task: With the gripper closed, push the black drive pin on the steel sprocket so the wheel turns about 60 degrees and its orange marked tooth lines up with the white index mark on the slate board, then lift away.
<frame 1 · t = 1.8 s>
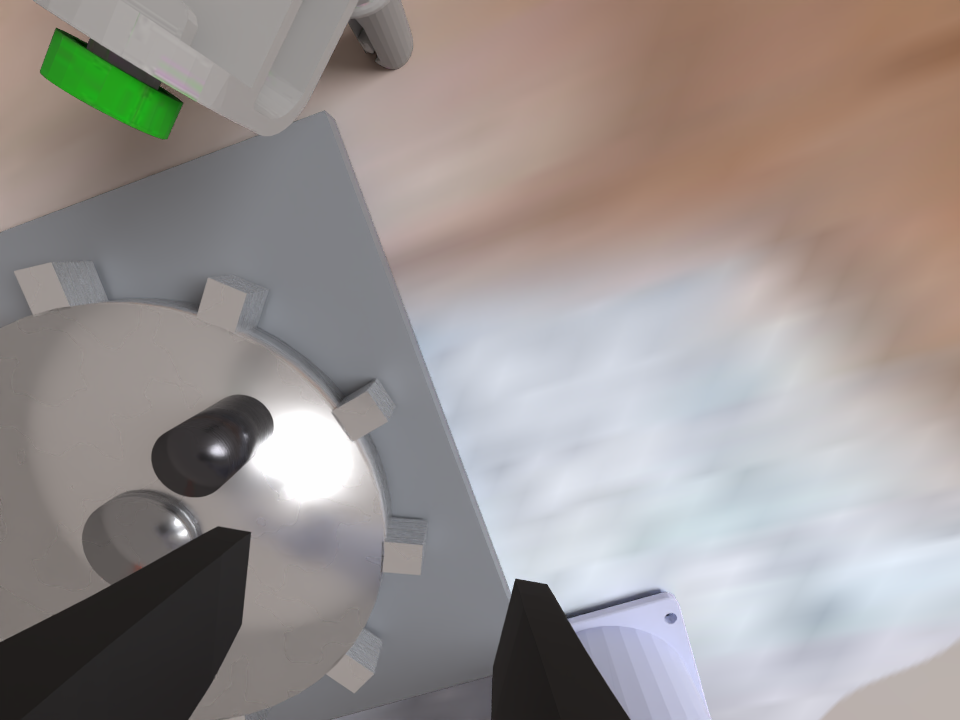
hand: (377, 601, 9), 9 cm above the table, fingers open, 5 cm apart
sprocket: (136, 549, 15), point 3 cm above the table, hinge at -60.0°
mechanical component: (389, 44, 15), on the table
index board: (163, 507, 19), on the table
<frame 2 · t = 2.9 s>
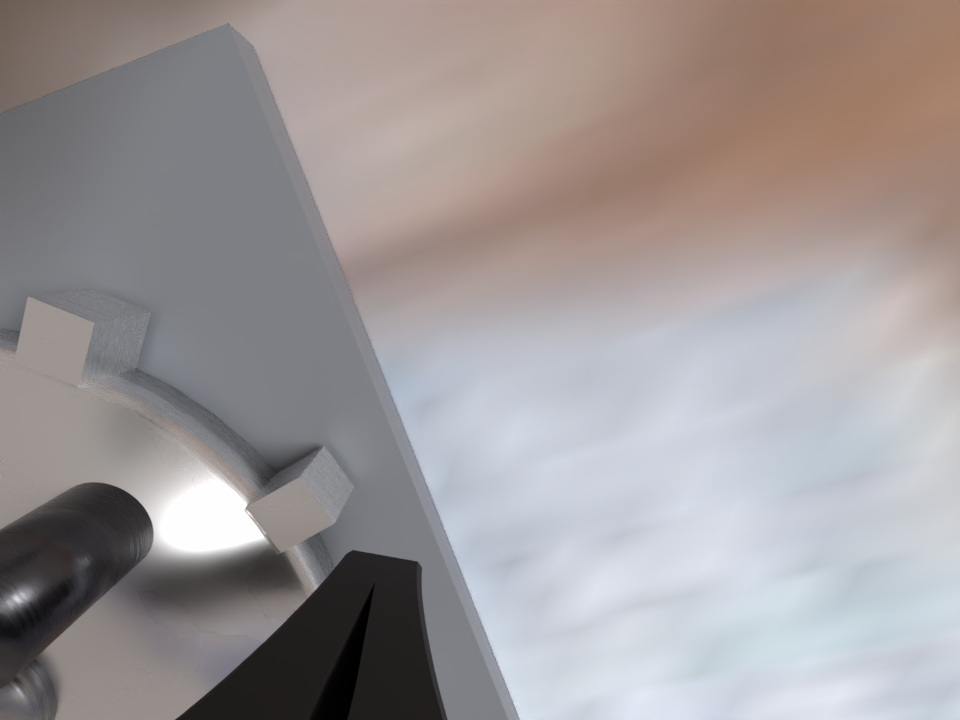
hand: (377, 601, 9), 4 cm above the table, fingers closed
index board: (29, 616, 13), on the table
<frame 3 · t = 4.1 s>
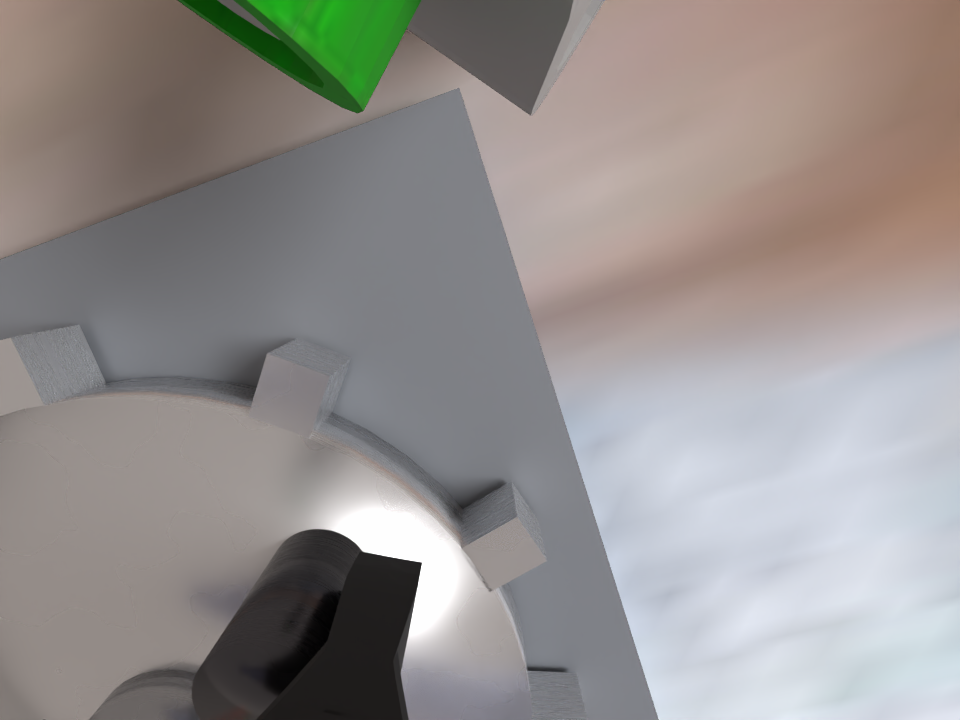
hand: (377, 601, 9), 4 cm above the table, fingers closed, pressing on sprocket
index board: (191, 652, 13), on the table
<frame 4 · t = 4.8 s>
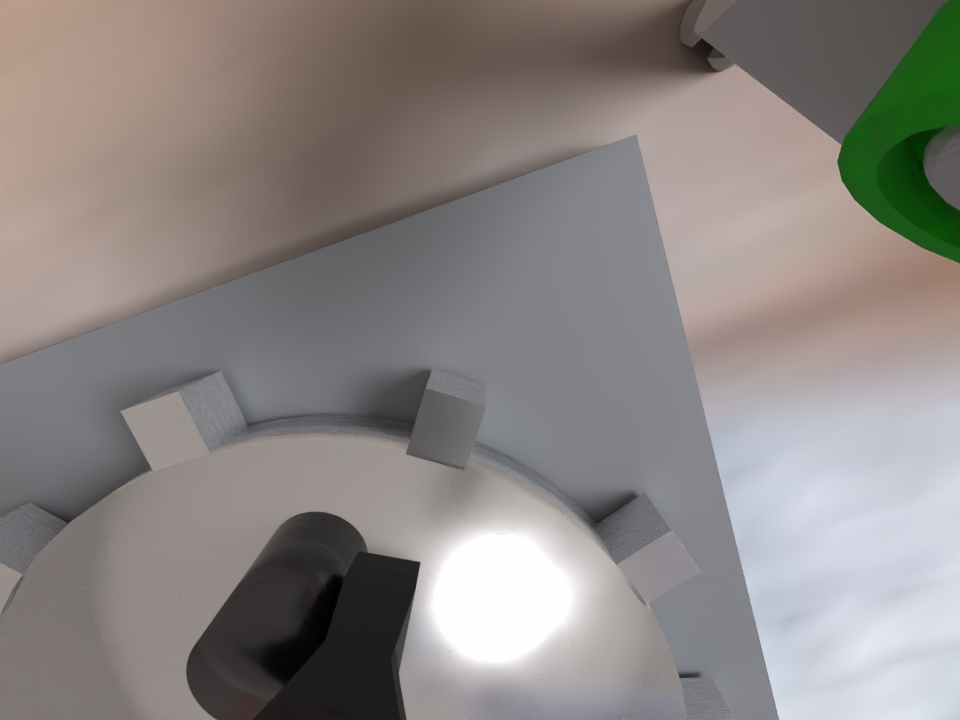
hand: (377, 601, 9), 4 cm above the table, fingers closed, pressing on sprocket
mechanical component: (712, 33, 10), on the table
index board: (319, 677, 13), on the table
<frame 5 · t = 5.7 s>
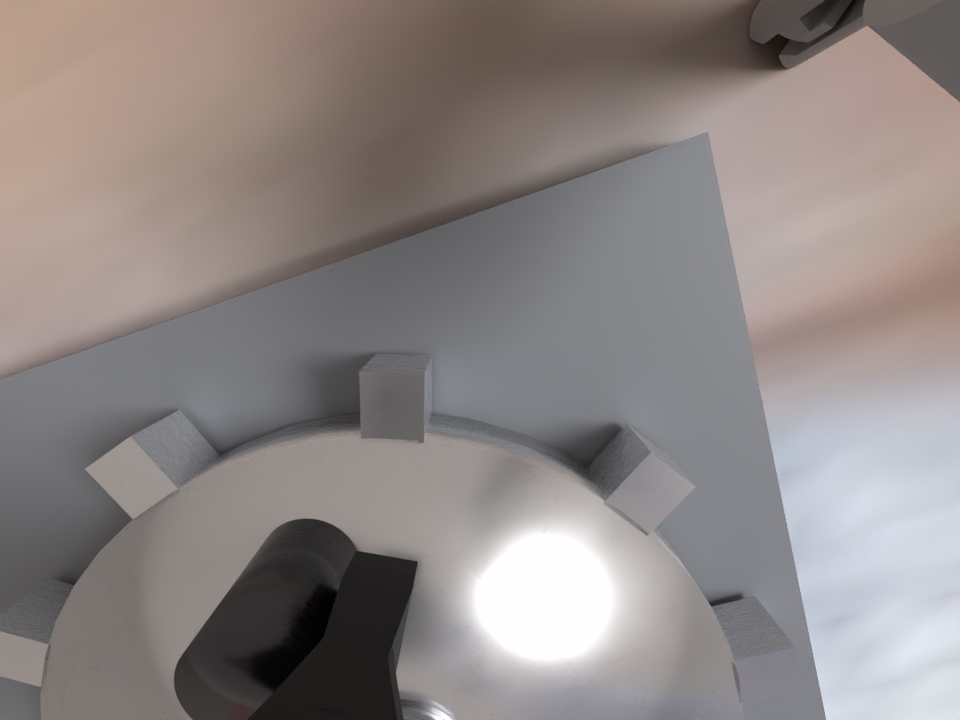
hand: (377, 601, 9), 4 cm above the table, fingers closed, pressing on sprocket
mechanical component: (781, 30, 10), on the table
index board: (363, 673, 13), on the table
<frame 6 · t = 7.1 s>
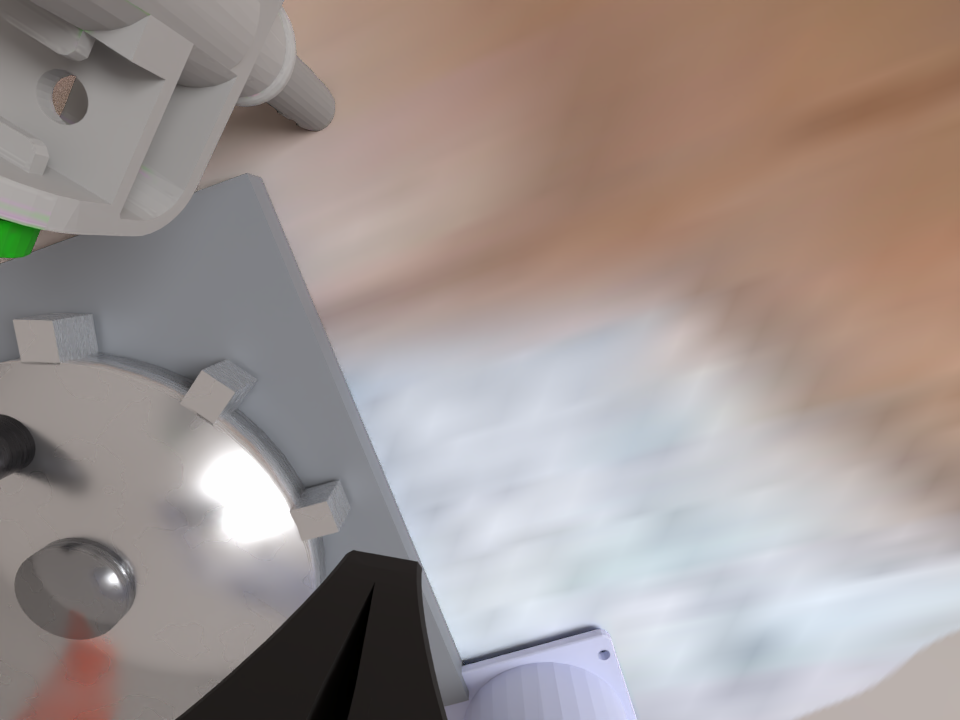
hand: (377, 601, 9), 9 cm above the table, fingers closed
sprocket: (67, 596, 16), point 3 cm above the table, hinge at -2.1°
mechanical component: (313, 106, 15), on the table
index board: (105, 546, 19), on the table
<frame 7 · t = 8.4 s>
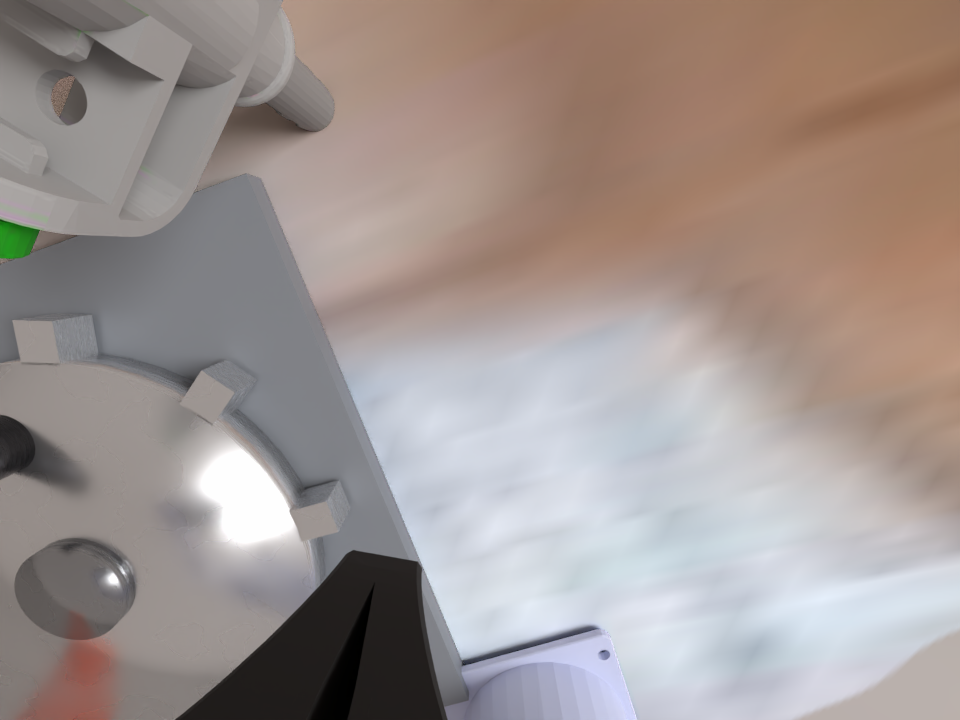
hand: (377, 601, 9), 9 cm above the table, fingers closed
sprocket: (67, 596, 16), point 3 cm above the table, hinge at -2.1°
mechanical component: (312, 107, 15), on the table
index board: (105, 547, 19), on the table
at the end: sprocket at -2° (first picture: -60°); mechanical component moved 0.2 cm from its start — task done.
